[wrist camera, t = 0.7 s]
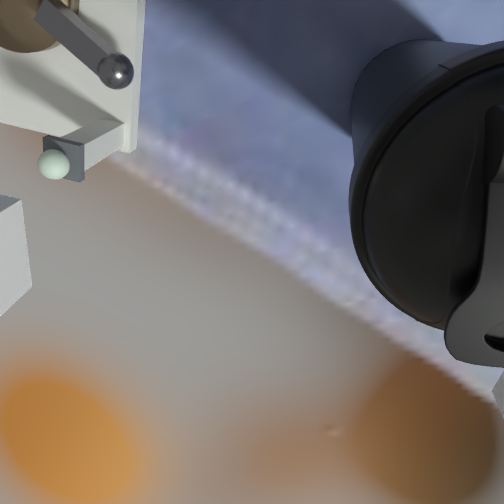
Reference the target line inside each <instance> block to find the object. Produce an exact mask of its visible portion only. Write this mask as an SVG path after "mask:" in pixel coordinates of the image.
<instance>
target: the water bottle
mask: <svg viewBox="0 0 504 504" xmlns="http://www.w3.org/2000/svg"><path fill="white" fill-rule="evenodd" d="M350 114H351V127H352V140H353V154H354V168H353V171H352V175H351V181H350V187H349V216H350V225H351V234H352V239H353V244H354V247H355V251H356V254H357V256H358V259H359V261H360V263H361V265H362V267H363V269H364V271H365V273H366V275H367V276H368V278H369V279H370V281H371V282H372V284H373V285H374V286H375V288H376V289H377V290H378V291H379V292H380V293H381V294H382V295H383V296H384V297H385V298H386V299H387V300H388V301H389V302H390V303H391V304H393V305H394V306H395V307H396V308H398V309H399V310H401V311H402V312H404V313H405V314H407V315H409V316H411V317H412V318H414V319H415V320H416V321H419V322H421V323H423V324H426V325H428V326H431V327H434V328H437V329H441V330H444V340H445V345H446V348H447V349H448V351H449V353H450V354H451V355H452V356H453V357H454V358H455V359H456V360H459V361H462V362H466V363H470V364H475V365H482V366H491V367H502V368H504V41H499V42H495V43H490V44H487V45H474V44H463V43H453V42H442V41H432V40H411V41H406V42H402V43H399V44H397V45H394V46H392V47H390V48H388V49H386V50H385V51H383V52H382V53H380V54H379V55H378V56H377V57H375V58H374V59H373V60H372V61H371V62H370V63H369V64H368V65H367V67H366V68H365V69H364V71H363V72H362V73H361V75H360V77H359V79H358V80H357V83H356V85H355V87H354V90H353V94H352V98H351V106H350Z"/></svg>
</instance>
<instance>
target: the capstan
mask: <svg viewBox="0 0 504 504" xmlns="http://www.w3.org/2000/svg"><path fill="white" fill-rule="evenodd" d="M79 1H80V0H0V47H2V48H4V49H6V50H10V51H13V52H18V53H32V52H40V51H46V50H50V49H53V48H55V47H57V46H59V45H60V44H62V45H63V46H64V47H65V48H66V49H67V50H69V51H70V52H71V53H72V54H73V55H74V56H75V57H77V58H78V59H79V60H80V61H81V62H82V63H83V64H85V65H86V66H87V67H88V68H89V69H90V70H91V71H93V72H94V73H95V74H96V75H97V76H98V77H99V79H100V80H101V82H102V83H103V84H104V85H105V86H107V87H109V88H111V89H115V90H120V89H124V88H126V87H127V86H129V85H130V83H131V82H132V80H133V77H134V68H133V65H132V63H131V61H130V59H129V58H128V57H127V56H126V55H124V54H123V53H121V52H118V51H116V50H115V49H114V48H113V47H112V46H111V45H109V44H108V43H107V42H106V41H105V40H104V39H103V38H102V37H101V36H99V35H98V34H97V33H96V32H95V31H94V30H93V29H92V28H91V27H89V26H88V25H87V24H86V23H85V22H84V21H83V20H82V19H81V18H79V17H78V12H79Z"/></svg>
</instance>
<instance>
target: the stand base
mask: <svg viewBox="0 0 504 504" xmlns="http://www.w3.org/2000/svg"><path fill="white" fill-rule="evenodd" d="M145 3H146V0H80V1H79V12H78V17H79V18H81V19H82V20H83V21H84V22H85V23H86V24H87V25H88V26H89V27H91V28H92V29H93V30H94V31H95V32H96V33H97V34H98V35H99V36H101V37H102V38H103V39H104V40H105V41H106V42H107V43H108V44H109V45H111V46H112V47H113V48H114V49H115V50H116V51H118V52H121V53H123V54H124V55H126V56H127V57H128V58H129V59H130V61H131V63H132V65H133V68H134V77H133V80H132V82H131V83H130V85H129V86H127V87H126V88H124V89H120V90H115V89H111V88H109V87H107V86H105V85H104V84H103V83H102V82H101V80H100V79H99V77H98V76H97V75H96V74H95V73H94V72H93V71H91V70H90V69H89V68H88V67H87V66H86V65H85V64H83V63H82V62H81V61H80V60H79V59H78V58H77V57H75V56H74V55H73V54H72V53H71V52H70V51H69V50H67V49H66V48H65V47H64V46H63V45H62V44H60V45H59V46H57V47H55V48H53V49H50V50H46V51H40V52H32V53H18V52H13V51H10V50H6V49H4V48H2V47H0V122H1V123H5V124H9V125H13V126H17V127H22V128H26V129H30V130H34V131H38V132H43V133H46V134H51V135H55V136H59V137H60V138H58V137H54V136H50V135H47V136H45V137H43V153H42V154H41V155H40V157H39V158H38V168H39V170H40V172H41V173H42V174H43V175H44V176H46V177H47V178H50V179H60V178H65V179H68V180H72V181H77V182H81V181H83V180H84V171H85V170H87V169H88V168H90V167H92V166H93V165H95V164H96V163H98V162H99V161H101V160H102V159H104V158H106V157H107V156H109V155H110V154H112V153H113V152H115V151H116V150H117V151H121V152H125V153H131V152H132V151H134V150H135V149H136V148H137V132H138V116H139V100H140V84H141V67H142V51H143V35H144V19H145Z"/></svg>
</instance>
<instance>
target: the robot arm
mask: <svg viewBox="0 0 504 504" xmlns="http://www.w3.org/2000/svg"><path fill="white" fill-rule="evenodd" d="M31 287H32V281H31V273H30V265H29V257H28V249H27V241H26V234H25V225H24V217H23V210H22V202H21V199H17V198H13V197H8V196H3V195H0V316H1V315H2V314H3V313H4V312H6V311H7V309H9V308H10V307H11V306H12V305H13V304H14V303H15V302H16V301H17V300H18V299H19V298H20V297H21V296H23V295H24V294H25V293H26V292H27V291H28V290H29V289H30V288H31ZM492 392H493V394H494V397H495V399H496V402H497V404H498V406H499V409H500V411H501V414H502V416H503V418H504V372H503V374H502V375H501V377H500V378H499V380H498V382H497V383H496V385H495V387H494V388H493V390H492Z"/></svg>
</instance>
